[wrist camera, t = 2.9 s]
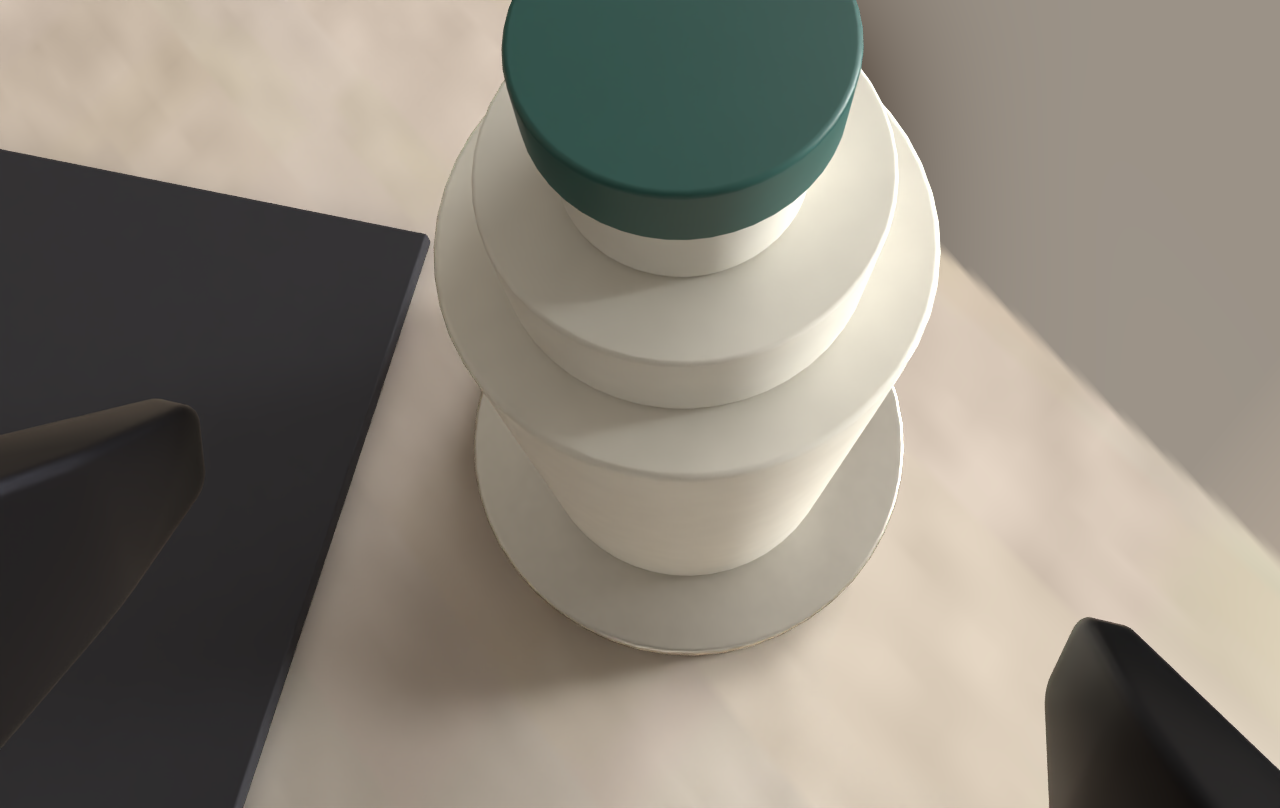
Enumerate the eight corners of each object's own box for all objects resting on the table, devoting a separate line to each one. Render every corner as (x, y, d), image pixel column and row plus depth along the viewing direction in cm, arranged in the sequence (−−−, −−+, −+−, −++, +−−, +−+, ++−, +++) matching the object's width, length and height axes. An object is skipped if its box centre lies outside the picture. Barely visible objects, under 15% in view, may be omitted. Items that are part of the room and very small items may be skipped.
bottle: (801, 607, 19) (1004, 458, 7) (510, 538, 19) (216, 290, 7) (853, 329, 20) (1091, -194, 8) (584, 275, 21) (441, -280, 9)
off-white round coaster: (855, 703, 19) (864, 704, 18) (431, 598, 20) (419, 594, 19) (924, 298, 21) (935, 279, 20) (543, 224, 22) (536, 203, 21)
